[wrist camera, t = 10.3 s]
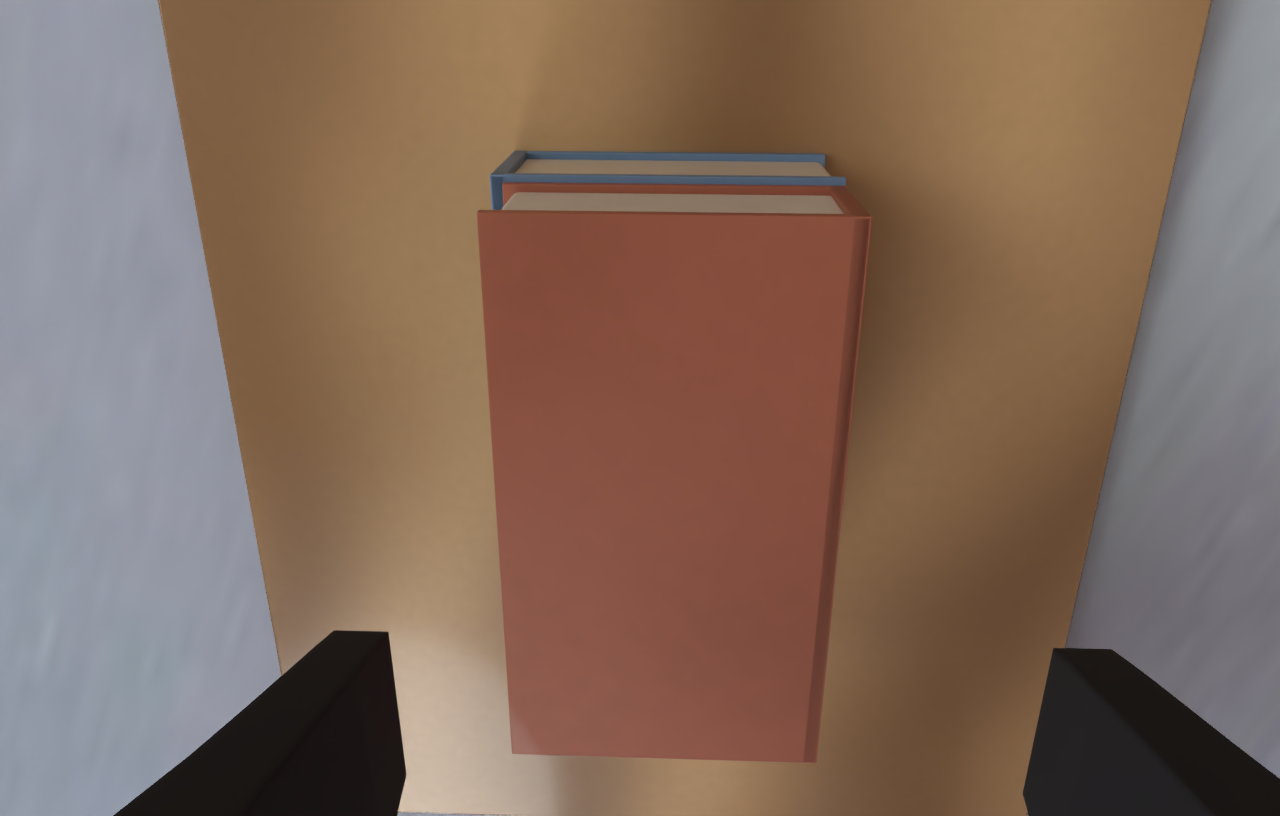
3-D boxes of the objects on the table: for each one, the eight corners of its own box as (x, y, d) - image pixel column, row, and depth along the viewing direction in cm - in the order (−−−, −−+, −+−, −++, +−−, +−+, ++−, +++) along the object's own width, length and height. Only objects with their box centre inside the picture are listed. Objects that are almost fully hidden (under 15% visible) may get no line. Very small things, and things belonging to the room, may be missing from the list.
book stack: (536, 611, 19) (500, 768, 15) (514, 150, 15) (459, 204, 12) (787, 617, 19) (815, 778, 15) (824, 153, 15) (873, 208, 11)
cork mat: (311, 796, 22) (305, 809, 21) (125, -243, 14) (110, -249, 13) (1017, 819, 21) (1023, 833, 21) (1254, -246, 13) (1270, -252, 13)
